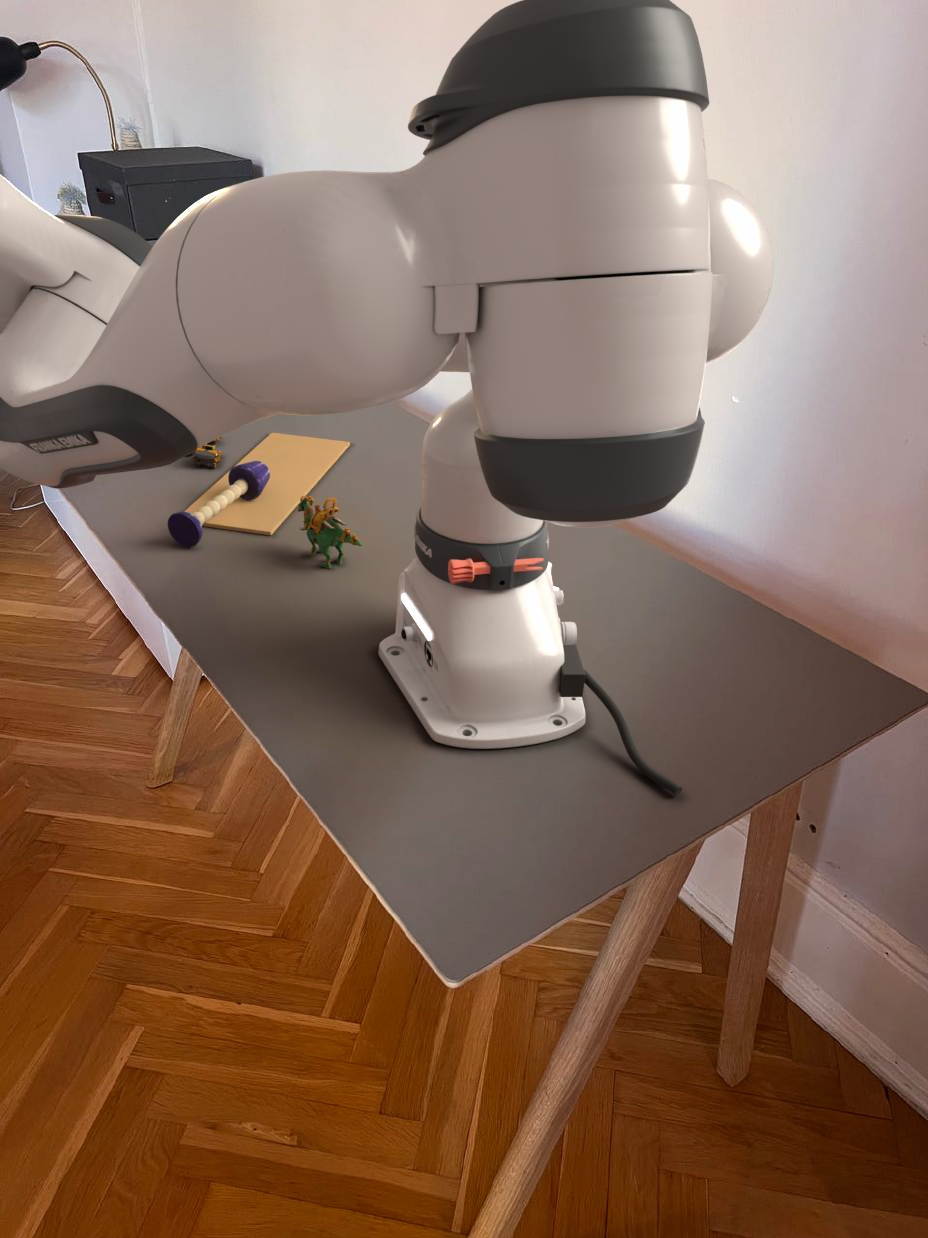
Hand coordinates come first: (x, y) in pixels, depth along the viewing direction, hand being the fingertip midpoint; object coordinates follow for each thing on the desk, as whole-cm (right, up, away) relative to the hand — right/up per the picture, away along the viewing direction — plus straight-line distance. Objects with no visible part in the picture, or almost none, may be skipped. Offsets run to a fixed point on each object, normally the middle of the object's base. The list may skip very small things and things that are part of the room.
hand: (149, 409), depth 88 cm
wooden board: (+5, -2, +33) cm, 33 cm away
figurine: (+15, -14, +15) cm, 25 cm away
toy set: (-7, +3, +40) cm, 41 cm away
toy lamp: (-1, -10, +15) cm, 18 cm away
